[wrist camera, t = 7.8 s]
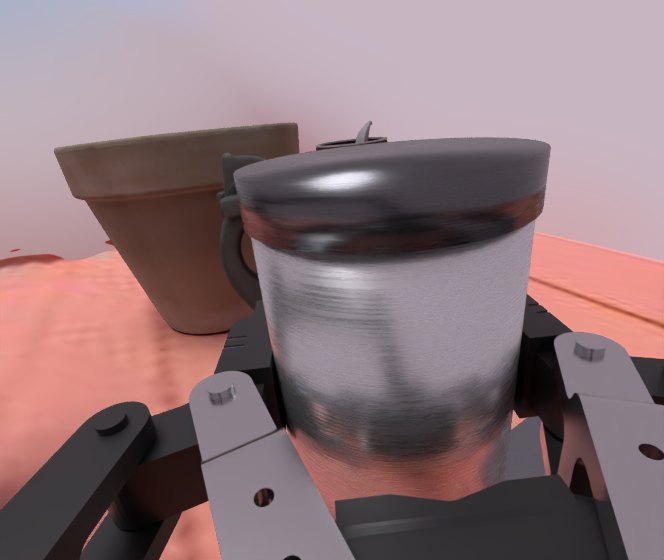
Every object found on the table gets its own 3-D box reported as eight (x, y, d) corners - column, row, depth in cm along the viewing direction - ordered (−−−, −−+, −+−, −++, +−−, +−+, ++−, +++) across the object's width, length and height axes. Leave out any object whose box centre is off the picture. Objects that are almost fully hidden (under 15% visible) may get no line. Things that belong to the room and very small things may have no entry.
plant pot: (240, 261, 67) (211, 129, 58) (356, 286, 52) (340, 113, 44) (90, 327, 49) (18, 151, 41) (200, 391, 35) (124, 137, 26)
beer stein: (275, 464, 26) (207, 164, 19) (240, 357, 39) (191, 153, 31) (494, 377, 32) (511, 121, 24) (401, 308, 45) (394, 126, 37)
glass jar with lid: (387, 708, 8) (345, 203, 4) (274, 505, 13) (196, 169, 8) (542, 542, 11) (621, 135, 7) (403, 424, 16) (394, 138, 11)
